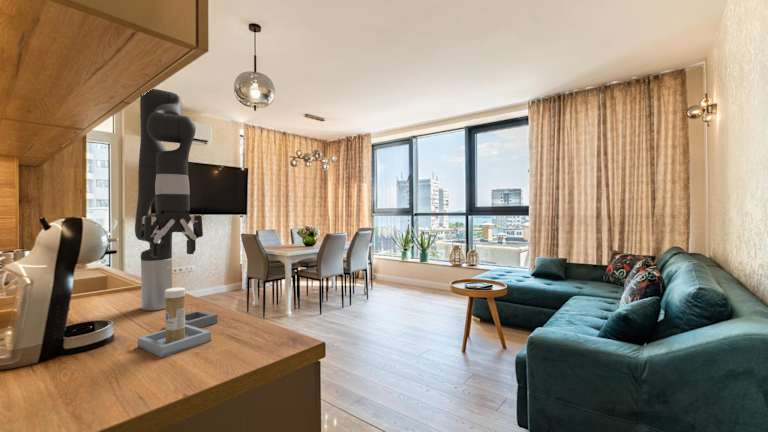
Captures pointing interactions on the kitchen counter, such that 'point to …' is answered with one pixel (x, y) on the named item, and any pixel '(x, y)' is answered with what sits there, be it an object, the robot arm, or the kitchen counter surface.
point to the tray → (162, 348)
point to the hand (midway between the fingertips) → (173, 256)
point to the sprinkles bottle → (175, 314)
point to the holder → (200, 318)
